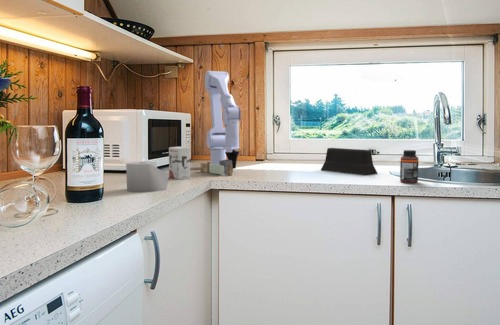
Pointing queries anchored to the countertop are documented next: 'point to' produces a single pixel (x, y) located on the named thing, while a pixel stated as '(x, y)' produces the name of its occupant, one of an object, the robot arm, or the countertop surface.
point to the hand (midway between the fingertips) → (232, 168)
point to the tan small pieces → (205, 168)
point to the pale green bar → (216, 169)
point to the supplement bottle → (409, 167)
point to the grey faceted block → (225, 164)
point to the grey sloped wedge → (145, 177)
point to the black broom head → (349, 161)
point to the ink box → (179, 162)
